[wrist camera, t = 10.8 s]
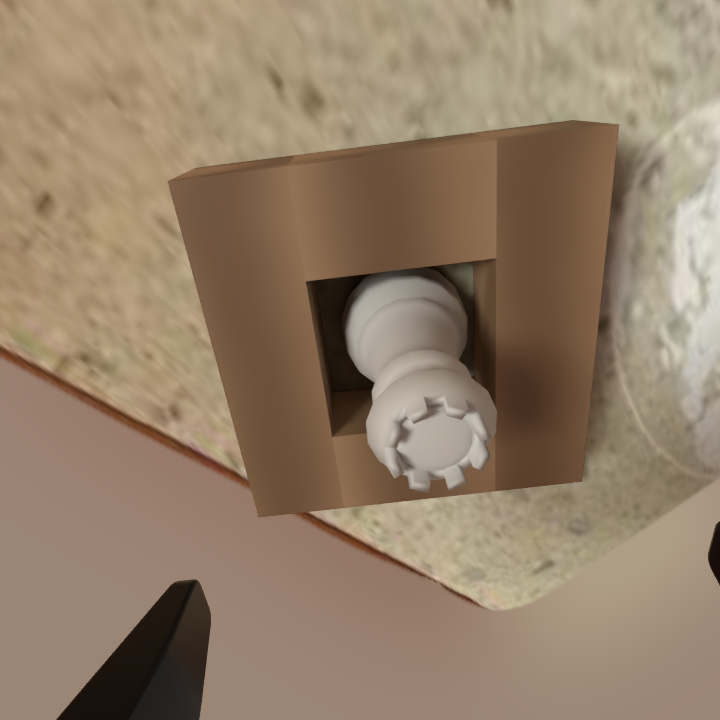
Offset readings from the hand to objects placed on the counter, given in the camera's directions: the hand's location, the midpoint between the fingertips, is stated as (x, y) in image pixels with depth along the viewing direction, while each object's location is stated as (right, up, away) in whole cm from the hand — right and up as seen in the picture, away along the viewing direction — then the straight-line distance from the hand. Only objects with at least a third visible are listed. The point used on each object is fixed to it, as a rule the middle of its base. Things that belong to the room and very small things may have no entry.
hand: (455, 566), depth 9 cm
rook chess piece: (0, +5, +10) cm, 12 cm away
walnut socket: (0, +5, +10) cm, 11 cm away
